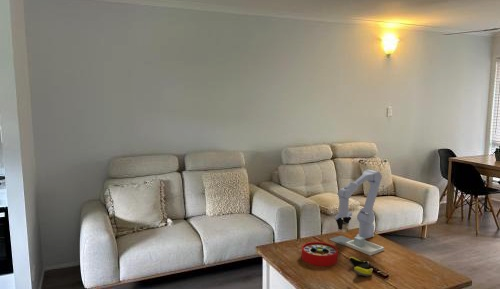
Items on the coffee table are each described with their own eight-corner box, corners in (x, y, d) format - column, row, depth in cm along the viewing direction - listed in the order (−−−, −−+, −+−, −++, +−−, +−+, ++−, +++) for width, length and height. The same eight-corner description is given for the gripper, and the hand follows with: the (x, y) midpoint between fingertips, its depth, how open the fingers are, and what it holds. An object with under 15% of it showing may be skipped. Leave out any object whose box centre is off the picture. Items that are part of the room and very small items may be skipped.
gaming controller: (354, 278, 189) (374, 279, 188) (354, 268, 188) (375, 268, 188) (348, 265, 204) (366, 265, 203) (348, 255, 203) (367, 256, 202)
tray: (345, 246, 229) (345, 242, 229) (359, 241, 237) (359, 237, 237) (370, 256, 215) (370, 252, 215) (383, 251, 222) (384, 247, 222)
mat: (341, 236, 246) (341, 235, 246) (355, 242, 236) (356, 241, 236) (328, 240, 239) (328, 239, 239) (343, 246, 229) (343, 245, 229)
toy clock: (321, 259, 197) (294, 247, 213) (320, 269, 198) (294, 256, 214) (345, 250, 209) (318, 239, 225) (344, 260, 210) (318, 248, 226)
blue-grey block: (358, 243, 232) (358, 235, 232) (364, 246, 229) (364, 238, 228) (353, 245, 230) (354, 237, 229) (359, 247, 226) (360, 239, 225)
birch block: (342, 229, 239) (343, 221, 239) (348, 231, 236) (348, 223, 235) (337, 230, 237) (338, 222, 236) (343, 232, 233) (343, 224, 232)
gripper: (340, 211, 227) (339, 232, 229) (356, 207, 236) (355, 228, 237) (332, 208, 233) (331, 229, 235) (347, 204, 241) (346, 225, 243)
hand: (342, 228), depth 236 cm, fingers closed on birch block, 4 cm apart
